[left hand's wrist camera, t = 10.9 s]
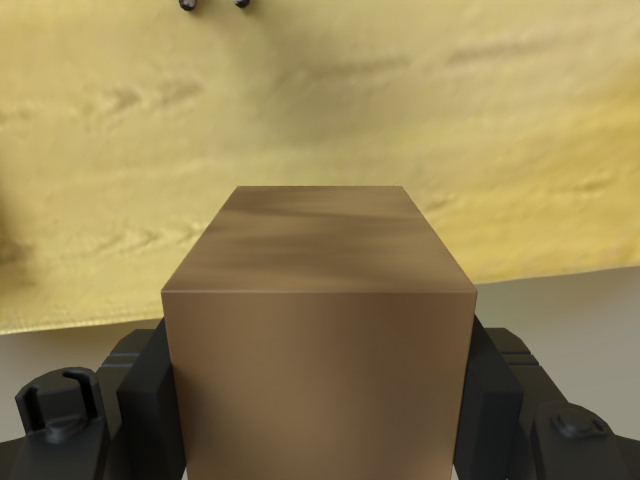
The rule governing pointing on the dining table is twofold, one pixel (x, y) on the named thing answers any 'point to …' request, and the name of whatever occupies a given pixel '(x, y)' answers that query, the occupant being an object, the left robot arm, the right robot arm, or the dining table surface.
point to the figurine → (188, 4)
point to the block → (319, 338)
